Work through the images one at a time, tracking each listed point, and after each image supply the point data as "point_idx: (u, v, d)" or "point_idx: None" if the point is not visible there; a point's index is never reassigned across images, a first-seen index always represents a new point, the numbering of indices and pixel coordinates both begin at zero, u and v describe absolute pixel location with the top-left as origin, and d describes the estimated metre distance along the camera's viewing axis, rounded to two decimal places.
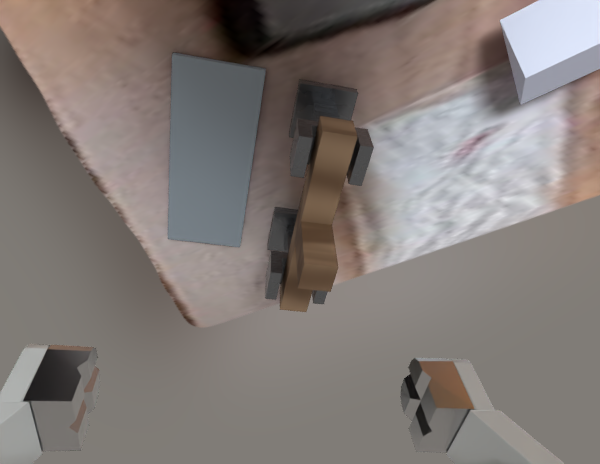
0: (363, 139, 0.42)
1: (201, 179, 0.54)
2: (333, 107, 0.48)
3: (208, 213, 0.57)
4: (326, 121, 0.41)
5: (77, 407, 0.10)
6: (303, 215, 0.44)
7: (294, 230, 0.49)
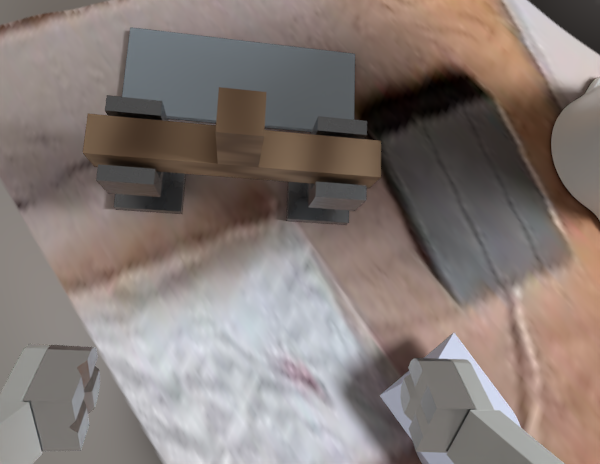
0: None
1: (222, 71, 0.47)
2: None
3: (174, 75, 0.47)
4: None
5: (77, 407, 0.10)
6: (269, 131, 0.36)
7: None
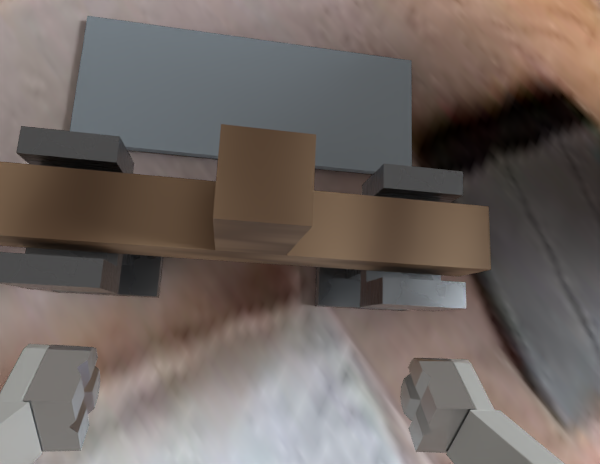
0: None
1: (223, 82, 0.32)
2: None
3: (152, 88, 0.32)
4: None
5: (77, 407, 0.10)
6: None
7: None
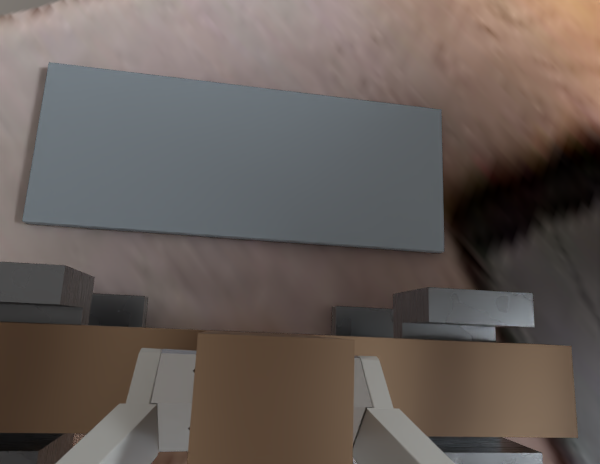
0: None
1: (215, 141, 0.27)
2: None
3: (128, 151, 0.26)
4: None
5: None
6: None
7: None
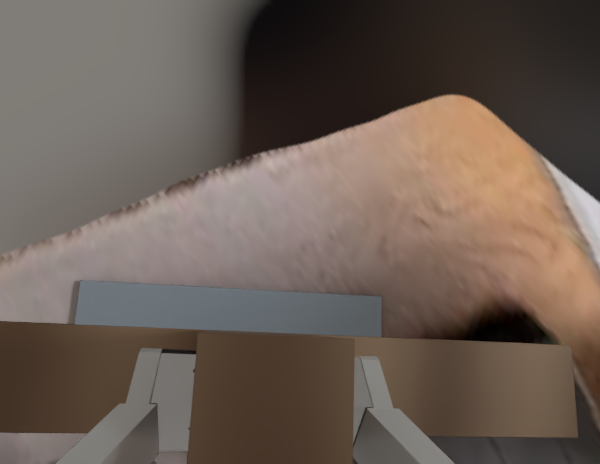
0: None
1: None
2: None
3: None
4: None
5: None
6: None
7: None
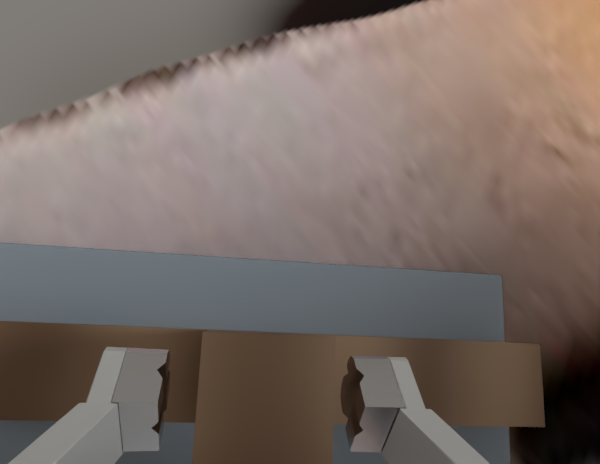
0: None
1: None
2: None
3: None
4: None
5: (159, 408, 0.10)
6: None
7: None
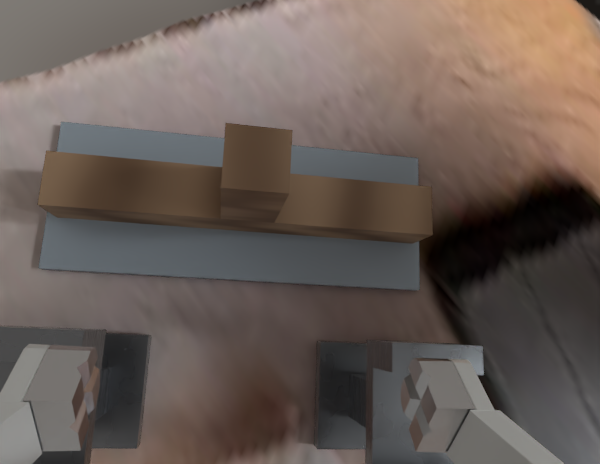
0: None
1: None
2: None
3: None
4: None
5: (77, 407, 0.10)
6: None
7: None
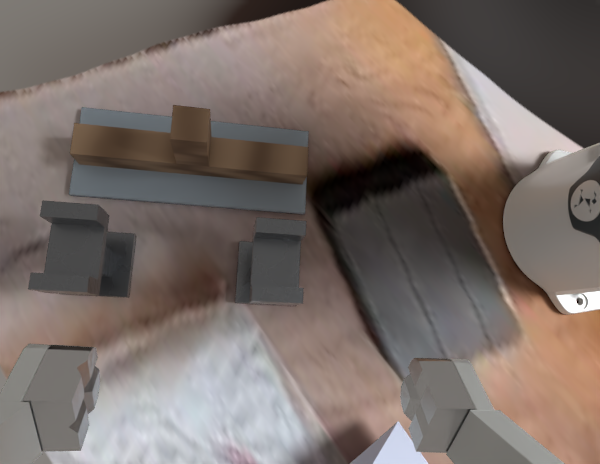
0: None
1: None
2: None
3: None
4: None
5: (77, 407, 0.10)
6: (218, 138, 0.45)
7: None
